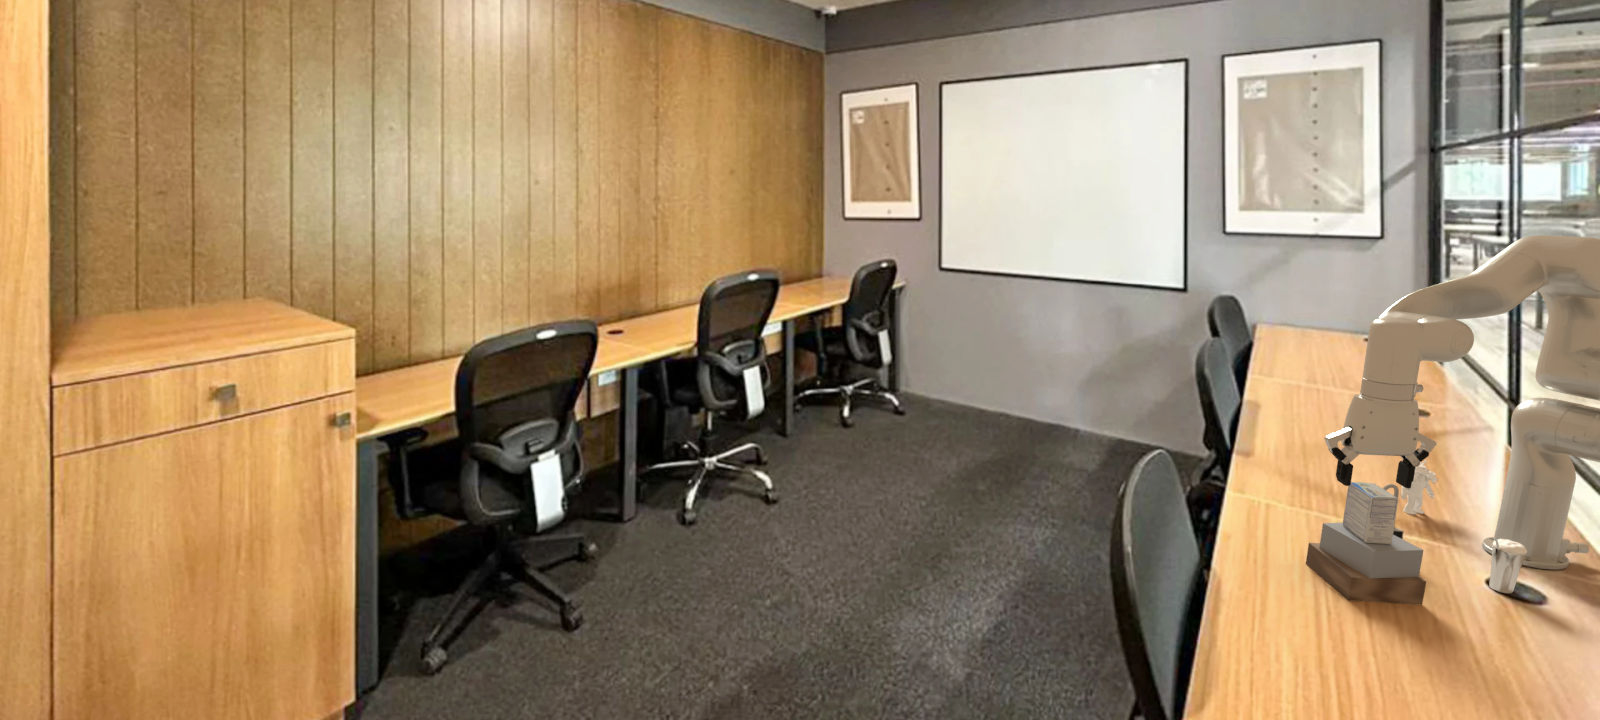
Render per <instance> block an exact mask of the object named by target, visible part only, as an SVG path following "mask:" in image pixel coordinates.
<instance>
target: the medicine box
mask: <svg viewBox="0 0 1600 720" xmlns="http://www.w3.org/2000/svg"><path fill="white" fill-rule="evenodd" d="M1345 500H1346V501H1345V505H1344V513H1343V520H1342V523H1343V526H1344V527H1346V528H1347V529H1348V530H1350V531H1351V532H1352V533H1354V534H1355V535H1356V536H1357V537H1359V538H1360V539H1361V540H1363V541H1364V542H1365V543H1374V544H1388V545H1390V544H1392V539H1393V532H1394V526H1396V518H1397V513H1398V512H1397V511H1398V506H1399V497H1398V498H1397V497H1395V496H1394V494H1392V493H1390V492H1389V491H1388V490H1387V491H1386V490H1384V489H1383V487H1381V486H1379V485H1377V484H1375V483H1374V482H1361V481H1360V482H1359V481H1353V482H1352V481H1351V485H1349V486H1347V493H1346V498H1345Z"/></svg>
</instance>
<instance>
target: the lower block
mask: <svg viewBox="0 0 1600 720" xmlns="http://www.w3.org/2000/svg"><path fill="white" fill-rule="evenodd" d="M1319 547H1320V542H1308V547H1307V551H1306V552H1307V554H1306V559H1305V560H1306V561H1305V565H1306V566H1307V567H1308V568H1309V569H1311V570H1312V571H1313V572H1314V573H1315V574H1316V575H1318V576H1319V577H1320V578H1321V580H1323V581H1325V582H1326V583H1327V584H1328V585H1329V586H1331V587H1332V588H1333V589H1334V590H1335V591H1336V592H1337V593H1339V594H1340V595H1341V596H1342V597H1343V598H1345V600H1347V601H1349V602H1350V601H1351V602H1365V603H1366V602H1367V603H1368V602H1369V603H1381V604H1382V603H1383V604H1385V603H1386V604H1399V605H1400V604H1401V605H1414V606H1415V605H1417V606H1418V605H1419V606H1423V601H1424V597H1425V592H1426V585H1427V581H1426V580H1425V579H1424V578H1422V577H1421V576H1419V577H1402V578H1368V577H1367V576H1365V575H1363V574H1362V573H1360V572H1358V571H1357V570H1355V569H1353V568H1352V567H1350V566H1348V565H1347V564H1345V563H1343V562H1342V561H1340V560H1338V559H1337V558H1335V557H1333V556H1332V555H1330V554H1328V553H1327V552H1325V551H1323V550H1322V549H1320V548H1319Z"/></svg>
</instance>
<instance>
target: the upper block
mask: <svg viewBox="0 0 1600 720" xmlns="http://www.w3.org/2000/svg"><path fill="white" fill-rule="evenodd" d="M1319 543H1320V547H1319V548H1320V549H1322V550H1323V551H1325V552H1327V553H1328V554H1330V555H1332V556H1333V557H1335V558H1337V559H1338V560H1340V561H1342V562H1343V563H1345V564H1347V565H1348V566H1350V567H1352V568H1353V569H1355V570H1357V571H1358V572H1360V573H1362V574H1363V575H1365V576H1367V577H1368V578H1402V577H1420V573H1421V567H1422V560H1423V555H1424V552H1425V551H1424V549H1422V548H1420V547H1418V546H1416V545H1414V544H1413V543H1411V542H1409V541H1407V540H1405V539H1404V538H1403V539H1401V538H1399V537H1397V536H1395V535H1393V539H1392V544H1390V545H1388V544H1374V543H1365V542H1364V541H1363V540H1361V539H1360V538H1359V537H1357V536H1356V535H1355V534H1354V533H1352V532H1351V531H1350V530H1348V529H1347V528H1346V527H1344V526H1343V522H1323V523H1322V529H1321V535H1320V540H1319Z"/></svg>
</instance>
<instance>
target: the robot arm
mask: <svg viewBox="0 0 1600 720" xmlns="http://www.w3.org/2000/svg"><path fill="white" fill-rule="evenodd" d="M1537 291H1538V293H1539V294H1540V296H1541V298H1543V300H1544V303H1545V305H1546V308H1547V312H1548V313H1547V316H1548V320H1547V323H1546V324H1547V325H1546V329H1545V333H1544V336H1543V340H1542V345H1541V347H1540V348H1541V349H1540V352H1539V356H1538V359H1537V364H1536V367H1535V368H1536V369H1535V380H1536V381H1535V382H1537V384H1538V385H1539V386H1540V387H1541V388H1544V389H1546V390H1549V391H1553V392H1555V393H1559V394H1564V395H1569V396H1575V397H1579V398H1580V397H1581V398H1585V399H1589V400H1594V401H1599V402H1600V238H1598V237H1590V236H1568V235H1566V236H1565V235H1546V234H1545V235H1543V234H1541V235H1529V236H1525V237H1521V238H1519V239H1517V240H1516V241H1513V242H1512V243H1511V244H1509V245H1508V246H1506V248H1504V249H1502V250H1501V251H1500V252H1498V253H1497V254H1496V255H1495V256H1493V257H1492V258H1491V259H1489V260H1487V261H1486V262H1485V263H1484V264H1482V265H1481V266H1479V267H1478V268H1477V269H1475V270H1474V271H1472V272H1471V273H1470V274H1468V275H1465V276H1461V277H1457V278H1454V279H1451V280H1447V281H1444V282H1440V283H1438V284H1433V285H1431V286H1427V287H1424V288H1422V289H1421V288H1420V289H1418V290H1415V291H1413V292H1411V293H1409V294H1406V296H1404V297H1402V298H1400V299H1399V300H1397V301H1395V303H1393V304H1392V305H1391V306H1389V307H1388V308H1386V309H1385V311H1384V312H1383V313H1381V314H1380V315H1378V318H1376V319H1374V320H1373V321H1372V322H1371V323H1370V326H1369V329H1368V337H1367V343H1366V349H1365V350H1366V351H1365V357H1364V362H1363V363H1364V365H1363V372H1362V377H1361V384H1360V392H1359V393H1358V394H1357V393H1356V394H1354V395H1353V396H1352V399H1351V401H1350V404H1349V407H1348V408H1347V409H1348V410H1347V413H1346V416H1345V419H1344V420H1345V421H1344V423H1343V427H1342V429H1341V430H1338V431H1336V432H1332V433H1330V434H1328V435H1326V436H1324V442H1325V444H1326V446H1327V449H1328V451H1329V452H1330V453H1331V454H1332V455H1333V456H1334V457H1335V459H1336V460H1337V463H1336V471H1335V478H1336V481H1338V482H1339V483H1341V484H1342V485H1344V486H1345V487H1348V486H1349V485H1351V482H1352V477H1353V471H1354V465H1353V464H1352V463H1351V462H1352V461H1354V460H1355V459H1356V458H1357V457H1359V455H1365V456H1391V457H1392V456H1393V457H1396V456H1397V457H1400V458H1401V459H1402V460H1400V461H1399V462H1398V465H1397V472H1396V477H1395V478H1396V479H1395V482H1396V483H1397V484H1398V485H1401V487H1402V486H1403V487H1405V488H1411V484H1412V482H1413V480H1414V474H1415V467H1417V466H1419V465H1421V464H1420V462H1423V461H1425V460H1426V459H1427V458H1428V457H1429V455H1430V453H1431V452H1433V451H1432V450H1433V449H1434V448H1435V447H1436V445H1437V442H1436V440H1433V439H1431V438H1429V437H1428V436H1426V435H1424V434H1422V433H1420V431H1419V428H1420V412H1419V402H1418V400H1417V399H1415V398H1416V394H1417V393H1422V392H1423V391H1424V385H1423V384H1422V383H1421V384H1419V383H1418V382H1417V381H1418V379H1419V378H1418V376H1419V372H1420V371H1419V369H1420V366H1421V365H1420V364H1421V362H1422V361H1425V362H1426V361H1427V362H1434V363H1435V362H1437V363H1451V362H1454V361H1458V360H1460V359H1461V358H1463V357H1465V356H1466V355H1467V354H1469V352H1470V351H1471V350H1472V348H1473V346H1474V342H1475V335H1474V332H1473V330H1472V329H1471V327H1470V326H1469V325H1468V324H1466V323H1465V322H1463V321H1461V320H1467V319H1469V320H1470V319H1481V318H1487V317H1493V316H1499V315H1503V314H1505V313H1508V312H1510V311H1512V310H1513V309H1514V308H1516V307H1517V306H1518V305H1520V304H1521V303H1522V302H1524V301H1525V300H1526V299H1528V298H1529V297H1530V296H1532V295H1533V294H1534V293H1536V292H1537ZM1510 420H1511V421H1510V431H1511V433H1510V434H1511V448H1510V449H1511V450H1510V451H1511V452H1510V458H1509V464H1508V469H1507V473H1506V479H1505V483H1504V489H1503V492H1502V498H1501V504H1500V506H1499V507H1500V508H1499V513H1498V517H1497V518H1498V519H1497V521H1496V527H1495V531H1494V536H1491V537H1486V538H1484V539H1482V543H1481V544H1482V545H1481V546H1482V548H1483V550H1484V551H1486V552H1487V553H1489V554H1490V555H1492V546H1493V542H1494V541H1495V538H1497V540H1498V539H1508V540H1511V541H1514V542H1518V543H1520V544H1522V545H1523V546H1524V547H1525V548H1526V550H1527V553H1526V556H1525V558H1524V561H1523V564H1522V566H1525V567H1529V568H1534V569H1535V568H1536V569H1542V570H1563V569H1566V568H1568V567H1569V564H1570V560H1569V558H1568V557H1567V556H1566V554H1571V553H1575V554H1576V553H1577V554H1588V553H1589V550H1590V548H1589V545H1588V544H1587V543H1584V542H1571V541H1570V538H1569V539H1568V538H1564V534H1565V530H1566V525H1567V521H1568V515H1569V511H1570V507H1571V503H1572V499H1573V493H1574V490H1575V487H1576V486H1575V485H1576V479H1577V475H1576V474H1577V473H1576V468H1575V466H1574V463H1573V462H1572V459H1571V457H1570V456H1572V457H1577V458H1579V459H1584V460H1588V461H1592V462H1596V463H1600V407H1595V406H1589V405H1584V404H1581V403H1577V402H1571V401H1568V400H1561V399H1556V398H1549V397H1531V398H1528V399H1525V400H1523V401H1521V402H1520V403H1518V404H1517V406H1515V408H1514V409H1513V412H1512V414H1511V419H1510ZM1339 442H1341V445H1342V446H1343V447H1341V448H1339ZM1418 442H1420V443H1421V444H1420V447H1419V448H1417V445H1418Z"/></svg>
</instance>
